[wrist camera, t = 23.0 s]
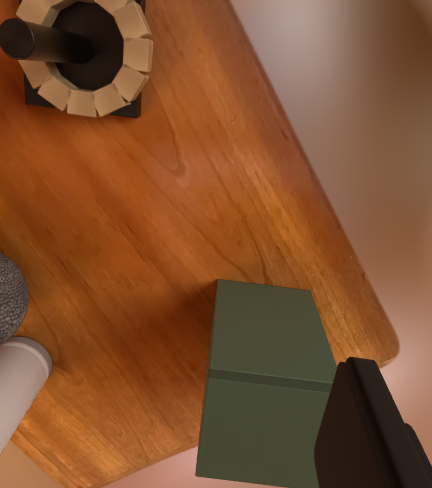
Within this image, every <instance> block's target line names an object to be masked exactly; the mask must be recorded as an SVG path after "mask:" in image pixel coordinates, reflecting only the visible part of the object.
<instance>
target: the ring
mask: <svg viewBox="0 0 432 488" xmlns="http://www.w3.org/2000/svg"><path fill="white" fill-rule="evenodd" d="M78 1H82V2H89V3H96V4H99V5H100V6H101V7H102V8H104V9H105V10H106V11H107V12H108V13H110V14H111V15H112V16H113V17H114V19H115V21H116V24H117V26H118V28H119V30H120V33H121V35H122V37H123V39H124V48H123V65H122V67H121V68H120V70H119V72H118V73H117V75H116V76H115V78H114V80H113V81H112V83H111V84H109V85H107V86H104V87H102V88H100V89H98V90H96V91H93V90H86V89H79V88H77V87H76V86H75V85H73V84H72V83H71V82H69V81H68V80H67V79H65V78H64V77H63V76H61V74H60V72H59V71H58V69H57V67H56V65H55V63H54V62H45V61H29V60H18V61H19V63H20V65H21V67H22V69H23V70H24V72H25V74H26V76H27V78H28V80H29V82H30V83H31V85H32V87H33V89H36V88H40V89H39V91H38V94H39V95H40V96H42V97H43V98H45V99H46V100H47V101H49V102H50V103H51V104H53V105H54V106H55V107H57V108H58V109H59V110H61V111H66V110H67V113H68V114H73V115H80V116H87V117H94V118H95V117H98V116H100V117H102V116H105V115H108V114H110V113H112V112H115V111H117V110H119V109H121V108H123V107H126V106H128V105H130V104H131V103H130V102H131V101H134V100H135V99H136V98H137V96H138V95H139V93H140V92H141V90H142V89H143V87H144V85H145V84H146V82H147V81H148V79H149V76H148V75H147V74H145V73H144V72H151V71H152V56H153V41H152V40H150V39H146V38H148V37H150V36H152V33H151V30H150V28H149V26H148V23H147V21H146V19H145V16H144V14H143V11H142V9H141V7H140V5H139V4H138V3H136V2H135V1H136V0H22V2H21V4H20V6H19V8H18V10H17V12H16V15H17V16H18V17H19V18H20V19H22V20H24V21H28V22H32V23H36V24H40V25H44V26H48V27H52V25H53V23H54V21H55V19H56V17H57V15H58V13H59V12H60V10H62V9H64V8H66V7H68V6H70V5H72V4H74V3H76V2H78Z"/></svg>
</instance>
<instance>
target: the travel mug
mask: <svg viewBox="0 0 432 488" xmlns="http://www.w3.org/2000/svg"><path fill="white" fill-rule="evenodd" d="M51 371H52V360H51V357H50V355H49V353H48V352H47V350H46V349H45V348H44V347H43V346H42V345H41V344H39V343H38V342H36V341H34V340H32V339H29V338H26V337H11V338H10V339H9V340H8V341H7V342H6V343H5V344H3V345H2V346H1V347H0V454H1V453H2V451H3V449H4V448H5V446H6V445H7V443H8V441H9V440H10V438H11V437H12V435H13V433H14V432H15V430H16V429H17V427H18V425H19V424H20V422H21V421H22V419H23V417H24V416H25V414H26V413H27V411H28V409H29V408H30V406H31V405H32V403H33V401H34V400H35V398H36V396H37V395H38V393H39V392H40V390H41V388H42V387H43V385H44V384H45V382H46V380H47V379H48V377H49V375H50V374H51Z"/></svg>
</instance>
